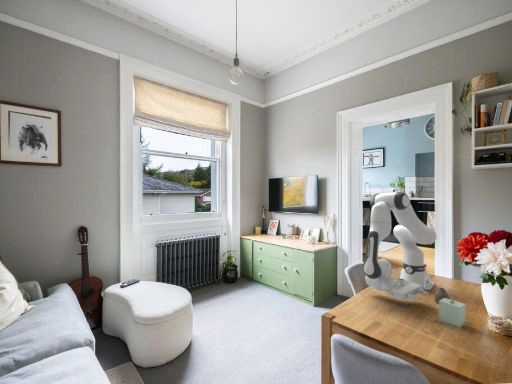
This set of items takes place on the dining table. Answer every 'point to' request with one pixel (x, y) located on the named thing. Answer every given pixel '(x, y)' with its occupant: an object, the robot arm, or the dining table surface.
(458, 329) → the board
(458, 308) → the mint green lunchbox
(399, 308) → the mat
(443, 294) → the brown rounded lump
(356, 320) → the dining table surface
